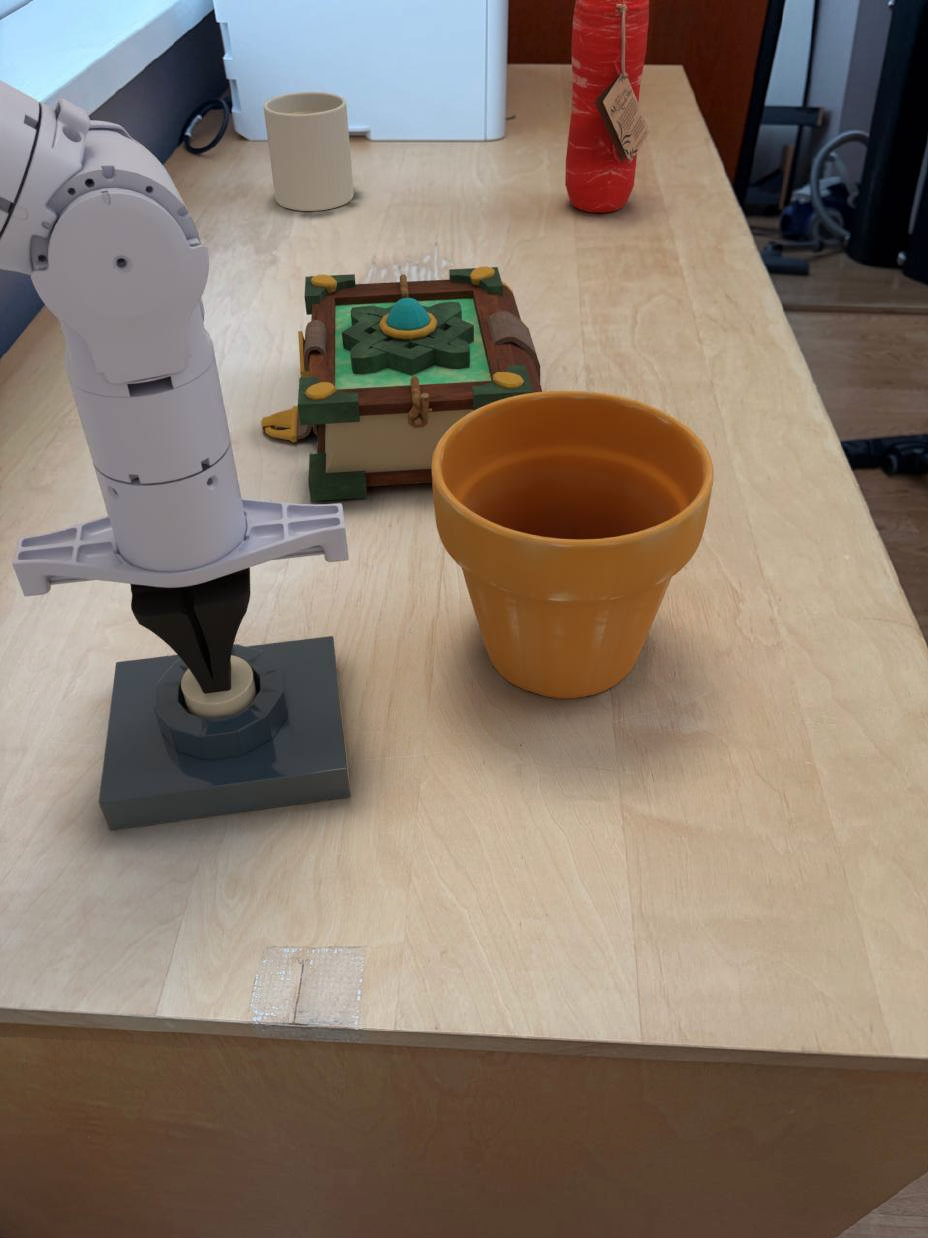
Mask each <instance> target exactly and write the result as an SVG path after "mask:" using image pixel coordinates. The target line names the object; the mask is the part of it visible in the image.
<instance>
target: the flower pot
mask: <svg viewBox="0 0 928 1238" xmlns="http://www.w3.org/2000/svg"><path fill="white" fill-rule="evenodd" d="M431 468H432V482H431V483H432V497H433V498H432V499H433V508H434V517H435V525H436V529H437V533H438V535H439V536H438V537H439V540H440V541H441V543H442V545H443V547H444V549H445V550H446V552H447V554H448V555H449V556H450V558H452V559H453V561H454V562H455V563H456V564H457V565H458V566H459V567H460V568H461V570H462V573H463V578H464V581H465V585H466V589H467V592H468V595H469V598H470V601H471V605H472V608H473V612H474V615H475V618H476V621H477V624H478V627H479V630H480V634H481V637H482V640H483V644H484V646H485V647H484V648H485V649H486V652H487V655H488V658H489V660H490V662H491V664H492V666H493V667H494V668H495V670H496V671H497V672H498V673H499V674H500V675H501V676H502V677H503V678H504V679H505V680H506V681H508V682H509V683H511V684H512V685H514V686H516V687H517V688H520V689H522V690H524V691H527V692H531V693H534V694H538V695H540V696H543V697H547V698H556V699H577V698H584V697H589V696H593V695H597V694H600V693H603V692H605V691H607V690H610V689H611V688H612V687H614V686H616V685H618V684H619V683H620V682H622V681H623V680H624V679H625V678H626V677H627V676H628V675H629V673H631V671H632V670H633V668H634V666H635V664H636V663H637V661H638V658H639V656H640V654H641V651H642V649H643V647H644V644H645V642H646V640H647V637H648V635H649V633H650V631H651V628H652V626H653V624H654V621H655V619H656V616H657V614H658V612H659V609H660V606H661V605H662V602H663V600H664V598H665V595H666V593H667V590H668V587H669V586H670V582H671V580H672V577H674V576H675V575H677V574H678V573H679V572H680V571H681V570H682V569H683V568H685V567H686V565H687V564H689V562H690V561H691V560H692V558H693V557H694V555H695V554H696V552H697V551H698V549H699V546H700V544H701V542H702V539H703V536H704V531H705V528H706V523H707V519H708V515H709V510H710V509H709V508H710V503H711V498H712V492H713V487H714V479H715V478H714V477H715V475H714V474H715V473H714V472H715V471H714V464H713V460H712V457H711V455H710V452H709V450H708V448H707V447H706V444H705V443H704V442H703V441H702V439H701V438H700V437H699V436H698V435H697V434H696V432H694V431H693V430H692V429H691V428H690V427H688V426H687V425H686V424H685V423H683V422H682V421H680V420H679V419H677V418H675V417H674V416H672V415H671V414H669V413H667V412H665V411H663V410H661V409H658V408H656V407H654V406H651V405H649V404H647V403H644V402H641V401H638V400H636V399H631V398H627V397H625V396H620V395H618V394H617V395H616V394H612V393H611V394H610V393H605V392H596V391H587V390H547V391H543V392H536V393H529V394H523V395H517V396H513V397H509V398H505V399H502V400H499V401H496V402H493V403H490V404H488V405H485V406H483V407H481V408H478V409H476V410H474V411H473V412H471V413H469V414H467V415H466V416H464V417H463V418H461V419H460V420H459V421H457V422H456V423H455V424H454V425H452V426H451V427H450V428H449V429H448V430H447V431H446V432H445V434H444V435H443V436H442V437H441V439H440V440H439V442H438V443H437V446H436V448H435V450H434V453H433V457H432V465H431Z"/></svg>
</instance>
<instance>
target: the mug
mask: <svg viewBox="0 0 928 1238" xmlns="http://www.w3.org/2000/svg"><path fill="white" fill-rule="evenodd" d="M263 114H264V122H265V130H266V137H267V144H268V152H269V160H270V167H271V173H272V174H271V175H272V182H273V191H274V198H275V201H276V203H277V204H278V205H279V206H281V207H282V208H285V209H289V210H294V211H301V212H316V211H317V212H318V211H327V210H333V209H335V208H339V207H341V206H344V205H346V204H348V203H349V202H351V201H352V200H353V198H354V195H355V192H354V182H353V179H354V178H353V171H352V170H353V168H352V157H351V145H350V132H349V121H348V108H347V101H346V99H345V98H344V97H343V96H341V95H338V94H335V93H331V92H323V91H298V92H289V93H284V94H280V95H277V96H273V97H272V98H270V99H267V100H266V101H265V102H264V103H263Z"/></svg>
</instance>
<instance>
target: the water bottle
mask: <svg viewBox="0 0 928 1238" xmlns="http://www.w3.org/2000/svg"><path fill="white" fill-rule="evenodd" d="M574 3H575V4H574V11H573V18H572V30H571V31H572V33H571V49H570V50H571V51H570V52H571V77H572V86H571V87H572V89H571V112H570V119H569V129H568V137H567V146H566V155H565V156H566V157H565V173H564V174H565V175H564V176H565V178H564V179H565V180H564V186H565V189H566V193H567V195H568V199H569V202H570V203H571V205H572V206H574V207H575V208H576V209H578V210H579V211H582V212H586V213H590V214H606V213H613V212H616V211H618V210H620V209H621V208H623V207H625V206H626V204H627V203H628V201H629V199H630V197H631V194H632V192H633V189H634V186H635V179H636V171H637V170H636V169H637V158H638V152H639V150H640V149H641V147H642V145H643V144H644V143H645V141H646V139H647V138H648V136H649V134H650V133H651V131H650V128H649V125H648V123H647V122H646V118H645V116H644V114H643V112H642V109H641V106H640V104H639V103H640V91H641V83H642V77H643V71H644V66H645V60H646V54H647V45H648V34H649V21H650V0H575V2H574Z"/></svg>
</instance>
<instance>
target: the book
mask: <svg viewBox="0 0 928 1238" xmlns="http://www.w3.org/2000/svg"><path fill="white" fill-rule="evenodd" d="M448 276H449V277H448V278H449V279H431V280H411V281H408V277H407V275H406V274H404V273H403V274H400V276H399V281H393V282H391V281H390V282H373V283H356V274H355V273H351V274H350V273H349V274H331V275H330V274H329V275H328V274H316V275H310V276H305V278H304V279H305V281H304V295H303V297H304V306H305V314H306V316H310V315H311V319H310V321H309V322H307V324H306V326H305V329H304V330H305V331H304V332H303V331H302V330H298V331H297V335H298V348H299V350H298V351H299V352H298V353H299V367H300V377H298V378H299V379H298V395H297V397H298V398H297V405H293V406H292V408H288V409H285V410H281V411H278V412H275V413H273V414H271V415H268V416H263V417H262V418H261V423H260V424H261V430H262V432H263V433H265V434H267V435H268V436H270V437H272V438H275V439H281V440H285V441H291V443H297V442H298V440H301V439H304V438H306V437H308V436H309V434H310V433H311V432H313V434H314V435H315V436H317V444H316V445H317V446H316V447H317V448H316V453H309V455H308V456H309V457H308V477H307V479H308V482H307V484H308V485H307V486H308V492H309V500H310V502H319V501H332V500H333V501H334V500H335V501H336V500H349V499H350V500H352V499H364V498H365V499H366V498H368V492H367V490H368V487H379V486H395V485H411V484H412V485H413V484H427V483H429V484H430V483H432V468H431V465H432V457H433V453H434V450H435V448H436V446H437V443H438V442H439V440H440V439H441V437H442V436H443V435H444V434H445V432H446V431H447V430H448V429H449V428H450V427H451V426H452V425H454V424H455V423H456V422H457V421H459V420H460V419H461V418H463V417H464V416H466V415H467V414H469V413H471V412H473V411H474V410H476V409H478V408H481V407H483V406H485V405H488V404H490V403H493V402H496V401H499V400H502V399H505V398H509V397H513V396H517V395H523V394H529V393H536V392H544V391H543V389H542V384H541V365H540V361H539V357H538V353H537V351H536V348H535V345H534V342H533V337H532V335H531V332H530V329H529V327H528V326H527V325H526V324H525V322H523V321H522V318H521V315H520V312H519V308H518V305H517V302H516V298H515V295H514V291H513V290H512V288H511V287H510V286H509V285H508V284H507V283H506V282H504V281H502V277H501V273H500V271H499V267H498V266H492V267H491V266H479V267H470V268H453V269H452V268H451V269H448ZM303 333H304V334H303ZM276 427H279V428H285V429H275V428H276Z"/></svg>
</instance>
